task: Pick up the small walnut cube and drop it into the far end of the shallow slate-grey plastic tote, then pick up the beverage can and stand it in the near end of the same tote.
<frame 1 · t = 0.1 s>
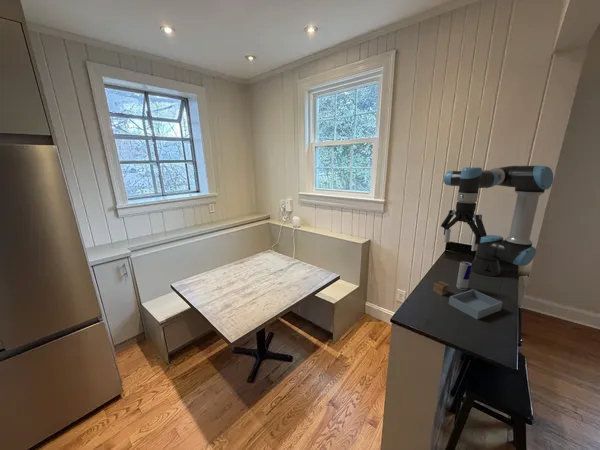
hand: (459, 246, 116), 28 cm above the breakfast bar, fingers open, 13 cm apart
beverage can: (461, 289, 132), on the breakfast bar
walnut cube: (440, 292, 128), on the breakfast bar
tote: (474, 307, 115), on the breakfast bar
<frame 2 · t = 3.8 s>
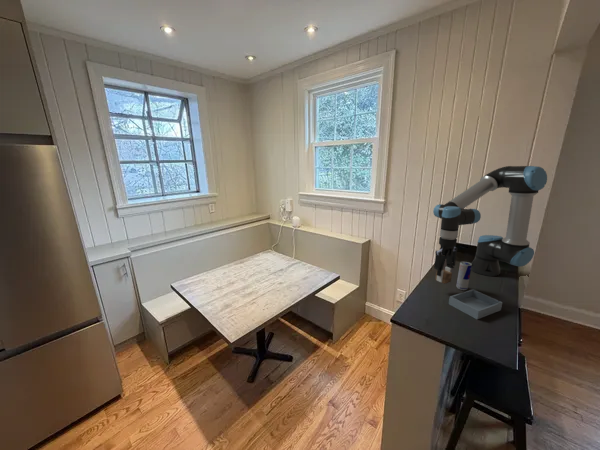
hand: (443, 279, 127), 7 cm above the breakfast bar, fingers closed on walnut cube, 5 cm apart
walnut cube: (442, 280, 127), point 7 cm above the breakfast bar, touching gripper
everything else where it was.
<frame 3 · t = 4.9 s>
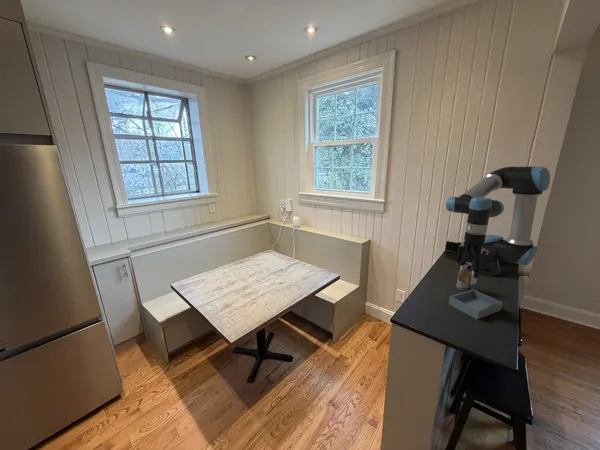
hand: (467, 280, 112), 13 cm above the breakfast bar, fingers closed on walnut cube, 5 cm apart
walnut cube: (466, 281, 113), point 13 cm above the breakfast bar, touching gripper
everything else where it was.
when the fingers open (4 cm above the breakfast bar, at t = 6.4 s): walnut cube drops 3 cm, resting on tote.
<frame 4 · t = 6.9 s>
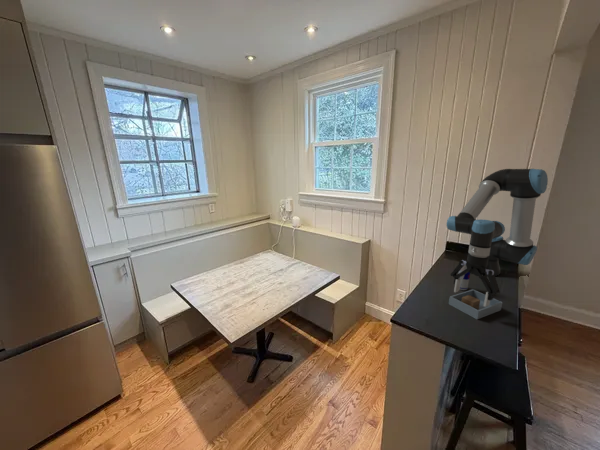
hand: (470, 298, 112), 6 cm above the breakfast bar, fingers open, 13 cm apart
walnut cube: (469, 308, 113), point 1 cm above the breakfast bar, touching tote
everything else where it was.
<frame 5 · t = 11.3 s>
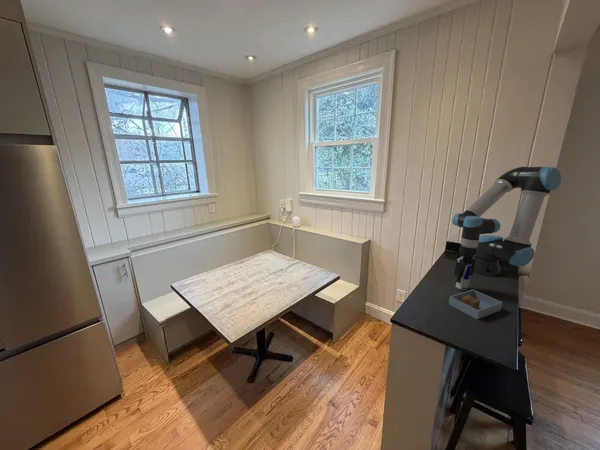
hand: (462, 286, 132), 1 cm above the breakfast bar, fingers closed on beverage can, 5 cm apart
beverage can: (461, 288, 132), on the breakfast bar, touching gripper
everything else where it was.
when the fingers open (4 cm above the breakfast bar, at t = 16.3 s): beverage can drops 2 cm, resting on tote.
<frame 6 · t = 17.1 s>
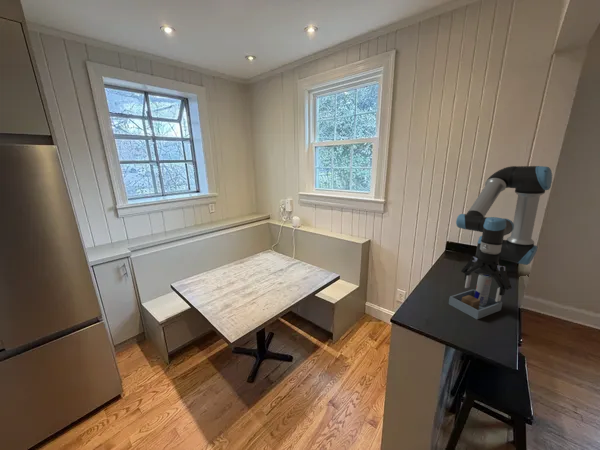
hand: (481, 293, 115), 6 cm above the breakfast bar, fingers open, 13 cm apart
beverage can: (479, 304, 116), resting on tote
everything else where it was.
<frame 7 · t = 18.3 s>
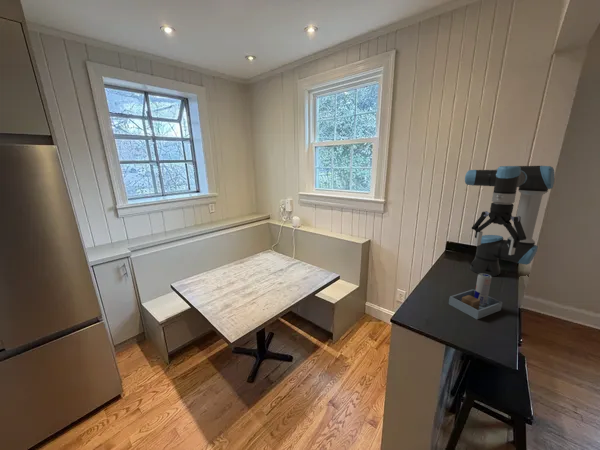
hand: (493, 249, 109), 28 cm above the breakfast bar, fingers open, 13 cm apart
nothing on the breakfast bar moved.
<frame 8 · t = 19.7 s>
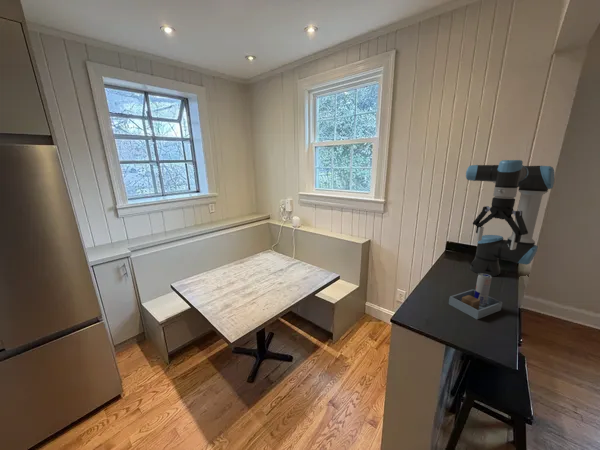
hand: (494, 244, 108), 31 cm above the breakfast bar, fingers open, 13 cm apart
nothing on the breakfast bar moved.
at the end: walnut cube inside the target area on the tote (4.0 cm from its centre), point 0.6 cm above the tote's base; beverage can inside the target area on the tote (4.0 cm from its centre), point 0.4 cm above the tote's base; beverage can tilted 0°; the gripper is holding nothing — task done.
